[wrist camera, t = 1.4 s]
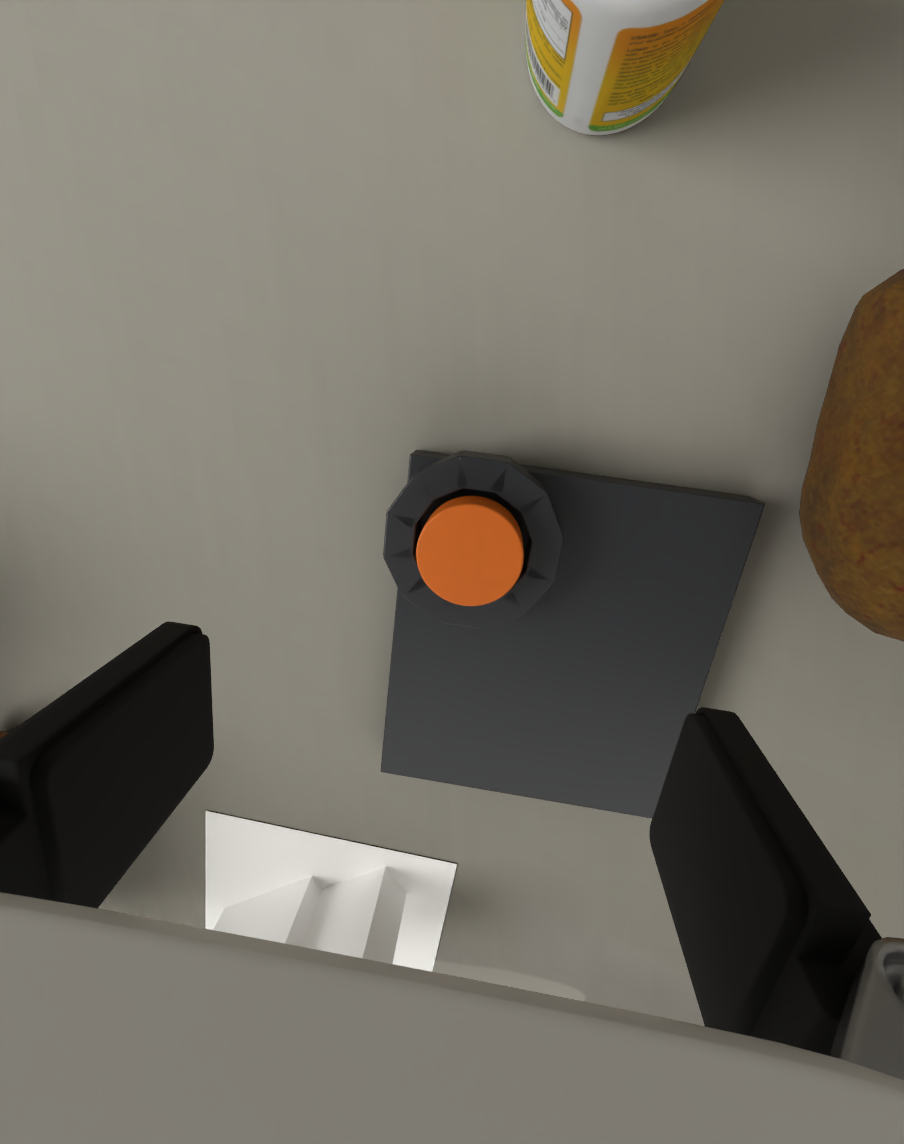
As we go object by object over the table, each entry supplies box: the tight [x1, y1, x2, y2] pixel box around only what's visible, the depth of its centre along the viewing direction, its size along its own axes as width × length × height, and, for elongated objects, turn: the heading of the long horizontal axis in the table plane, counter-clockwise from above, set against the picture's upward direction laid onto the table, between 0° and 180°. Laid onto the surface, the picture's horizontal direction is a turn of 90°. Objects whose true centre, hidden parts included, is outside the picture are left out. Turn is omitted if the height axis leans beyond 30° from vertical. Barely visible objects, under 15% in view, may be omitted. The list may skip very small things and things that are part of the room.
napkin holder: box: [206, 811, 457, 972], centre depth 30 cm, size 15×11×6 cm
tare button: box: [416, 496, 524, 606], centre depth 21 cm, size 4×4×2 cm
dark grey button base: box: [381, 450, 764, 818], centre depth 24 cm, size 16×14×3 cm
